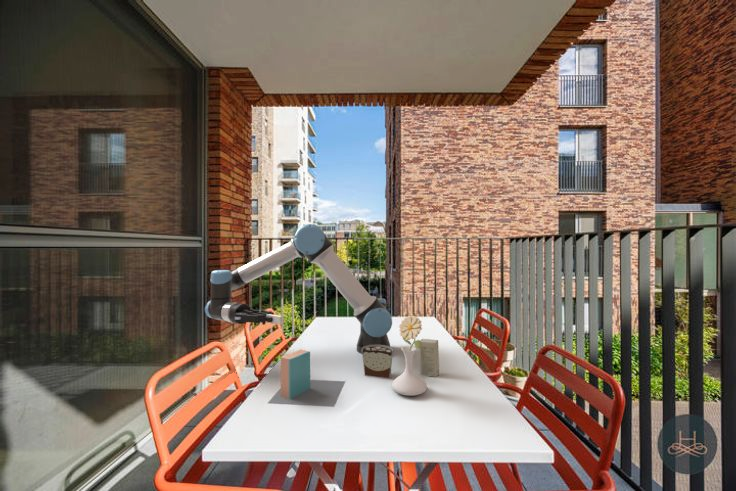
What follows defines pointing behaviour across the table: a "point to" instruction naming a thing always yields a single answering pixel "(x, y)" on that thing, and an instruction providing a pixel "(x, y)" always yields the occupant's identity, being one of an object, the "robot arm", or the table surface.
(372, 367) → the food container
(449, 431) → the table surface
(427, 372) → the skincare box
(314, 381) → the mat
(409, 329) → the flower in vase
